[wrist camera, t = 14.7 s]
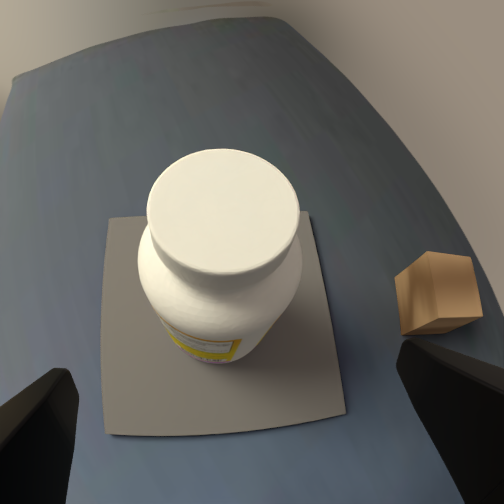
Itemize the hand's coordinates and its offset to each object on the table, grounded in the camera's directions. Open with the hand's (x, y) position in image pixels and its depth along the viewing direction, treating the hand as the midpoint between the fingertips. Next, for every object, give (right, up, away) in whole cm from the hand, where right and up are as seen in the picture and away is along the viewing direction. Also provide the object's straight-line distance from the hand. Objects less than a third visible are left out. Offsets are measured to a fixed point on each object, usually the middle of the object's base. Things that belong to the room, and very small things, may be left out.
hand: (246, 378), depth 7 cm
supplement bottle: (-2, -1, +14) cm, 14 cm away
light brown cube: (+15, -2, +17) cm, 22 cm away
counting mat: (-2, -1, +14) cm, 14 cm away
